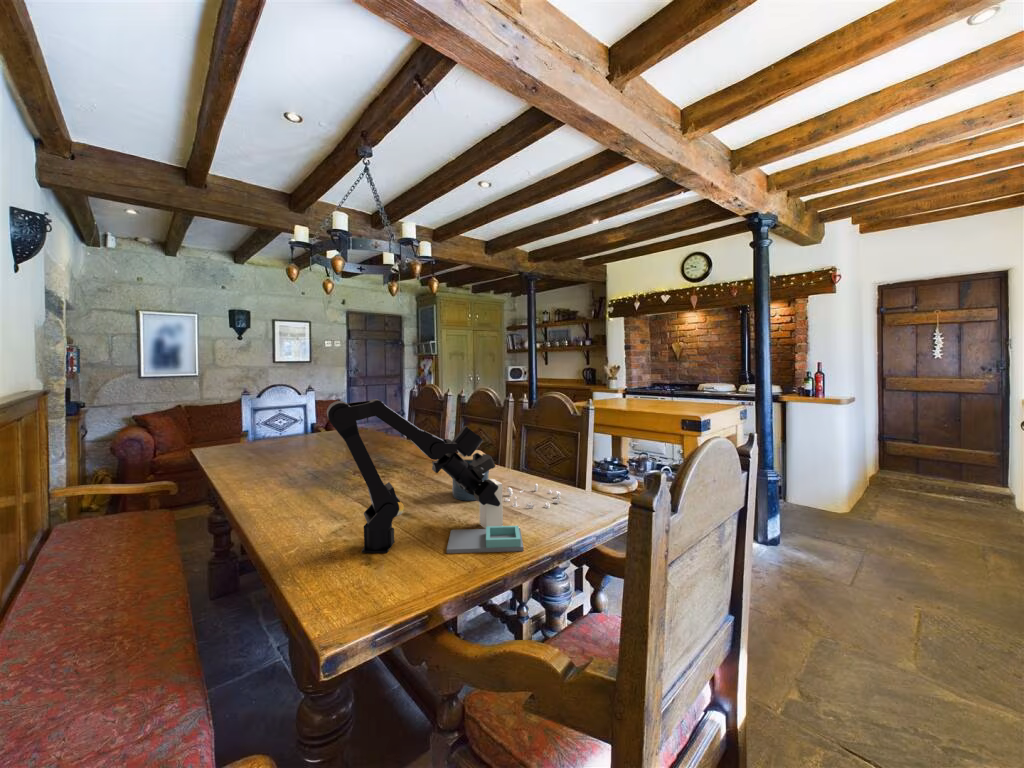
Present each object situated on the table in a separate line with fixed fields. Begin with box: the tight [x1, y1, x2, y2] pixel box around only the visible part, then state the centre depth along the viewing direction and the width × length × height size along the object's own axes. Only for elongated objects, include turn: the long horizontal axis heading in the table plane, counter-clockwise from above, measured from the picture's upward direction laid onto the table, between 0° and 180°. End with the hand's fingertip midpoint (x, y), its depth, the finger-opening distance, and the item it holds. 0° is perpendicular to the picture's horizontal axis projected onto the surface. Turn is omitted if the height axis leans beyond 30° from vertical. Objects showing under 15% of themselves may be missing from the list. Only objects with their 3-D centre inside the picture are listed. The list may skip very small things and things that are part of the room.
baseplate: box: [446, 525, 524, 554], centre depth 112 cm, size 19×12×3 cm, turn 93°
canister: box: [451, 449, 490, 502], centre depth 149 cm, size 13×13×18 cm
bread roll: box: [396, 501, 405, 517], centre depth 134 cm, size 8×9×4 cm
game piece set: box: [504, 483, 562, 509], centre depth 145 cm, size 19×20×4 cm
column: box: [478, 478, 504, 529], centre depth 122 cm, size 5×5×13 cm
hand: (495, 502), depth 123 cm, fingers closed on column, 5 cm apart
